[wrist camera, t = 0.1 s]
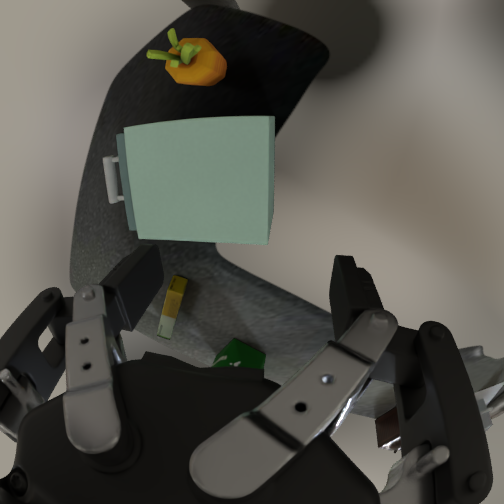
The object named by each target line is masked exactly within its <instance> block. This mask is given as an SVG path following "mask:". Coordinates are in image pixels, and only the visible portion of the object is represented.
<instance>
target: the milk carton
mask: <svg viewBox="0 0 504 504" xmlns="http://www.w3.org/2000/svg"><path fill="white" fill-rule="evenodd" d="M265 358H266V355H265V354H263V353H261V352H259V351H258V350H256V349H254V348H252V347H250V346H248V345H246V344H244V343H242V342H241V341H239V340H237V339H235V338H234V339H233V340H232V341H231V342H230V343H229V344H228V345H227V346H226V347H225V348H224V349H223V350H222V351H221V352H220V353H219V354H218V355H217V356H216V358H215V360H214V362H213V365H212V367H224V366H238V367H248V368H258V369H264V363H265Z"/></svg>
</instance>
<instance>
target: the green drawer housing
mask: <svg viewBox="0 0 504 504" xmlns="http://www.w3.org/2000/svg"><path fill="white" fill-rule="evenodd" d="M124 136H125V147H126V157H127V167H128V175H129V183H130V190H131V197H132V203H133V210H134V216H135V221H136V227H137V232H138V238H139V239H159V240H181V241H201V242H221V243H222V242H223V243H241V244H259V245H267V244H268V240H269V234H270V229H271V223H272V218H273V212H274V159H275V158H274V156H275V116H228V117H208V118H194V119H183V120H173V121H165V122H157V123H149V124H143V125H136V126H130V127H125V128H124Z"/></svg>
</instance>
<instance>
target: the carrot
mask: <svg viewBox="0 0 504 504" xmlns="http://www.w3.org/2000/svg"><path fill="white" fill-rule="evenodd" d="M168 37H169V40H170V42H171V44H172V46H173V47H172V48H171V49H170V50H169V51H168V52H164V51H159V50H148V52H147V57H148V58H151V59H164V60H167V61H166V66H165V68H166V70H167V71H168V72H169V73H170V75H171V76H172V77H173V78H174V80H175V81H176V82H177V83H181V84H188V85H201V86H212V85H214V84H216V83H218V82H219V81H220V80H222V79H223V78H224V77H225V74H226V69H227V63H226V60H225V59H224V58H223V57H222V55H221V54H220V53H219V52H218V51H217V50H216V48H215V47H214V46H213V45H212V44H211V43H210V42H209V41H208V40H207V39H205V38H183V39H182V40H181V41H180V42H178V40H177V37H176V34H175V30H174V28H172V29H170V30H169V31H168Z"/></svg>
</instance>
